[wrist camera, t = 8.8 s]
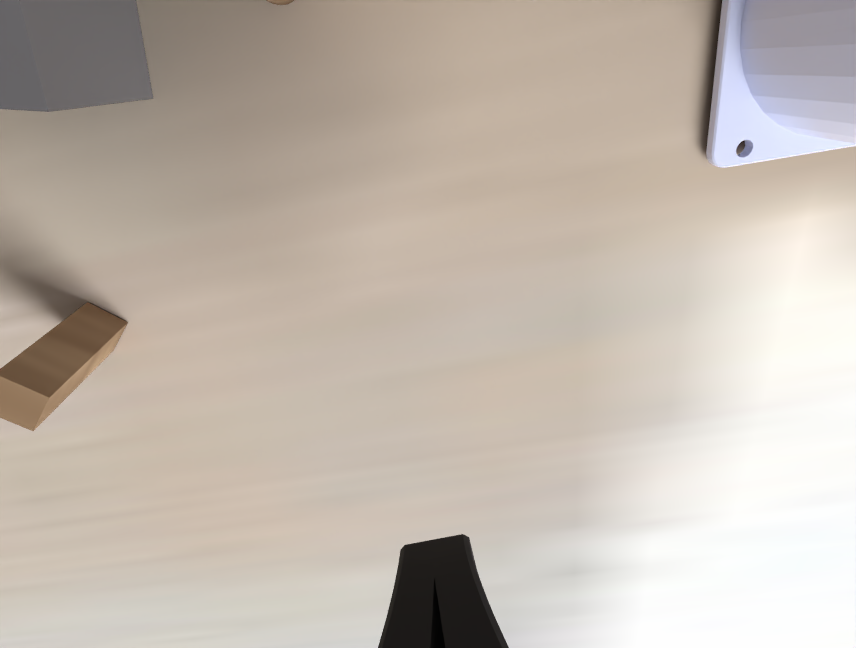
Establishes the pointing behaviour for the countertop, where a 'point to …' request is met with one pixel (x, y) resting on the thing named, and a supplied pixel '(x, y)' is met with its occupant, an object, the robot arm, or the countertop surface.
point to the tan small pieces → (59, 361)
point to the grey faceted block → (71, 54)
